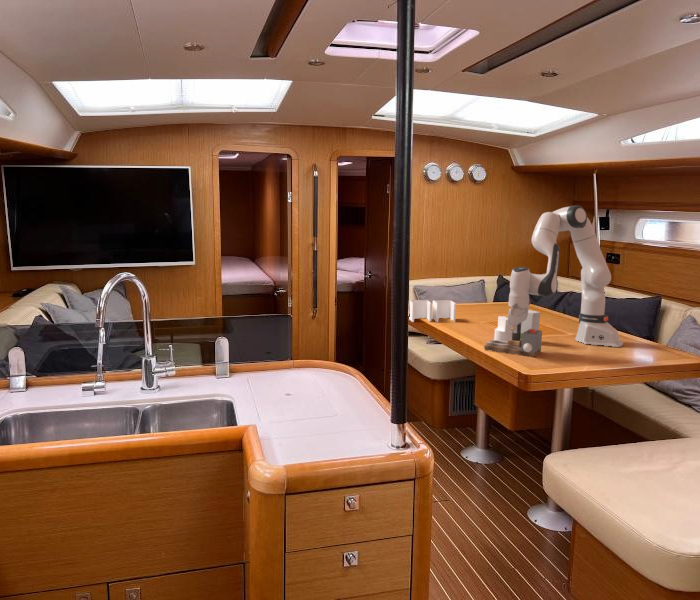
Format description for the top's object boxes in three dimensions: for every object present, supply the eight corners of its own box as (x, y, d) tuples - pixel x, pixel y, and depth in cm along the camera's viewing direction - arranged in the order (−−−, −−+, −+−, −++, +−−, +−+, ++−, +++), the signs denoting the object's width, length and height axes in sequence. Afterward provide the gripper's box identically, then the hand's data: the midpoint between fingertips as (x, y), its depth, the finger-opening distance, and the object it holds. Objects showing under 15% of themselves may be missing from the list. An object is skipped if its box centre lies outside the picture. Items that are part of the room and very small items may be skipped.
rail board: (540, 351, 289) (541, 345, 289) (533, 357, 279) (534, 350, 279) (492, 345, 301) (492, 338, 300) (484, 349, 291) (484, 343, 290)
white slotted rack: (450, 318, 367) (451, 300, 366) (455, 322, 357) (456, 303, 355) (408, 318, 365) (409, 300, 363) (412, 322, 354) (412, 303, 352)
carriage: (523, 343, 291) (524, 324, 290) (518, 346, 284) (520, 327, 283) (512, 341, 294) (514, 323, 292) (507, 345, 287) (509, 325, 285)
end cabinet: (540, 351, 289) (542, 330, 288) (533, 357, 279) (535, 335, 277) (527, 350, 292) (529, 329, 291) (520, 355, 282) (521, 333, 280)
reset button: (535, 336, 285) (536, 329, 285) (534, 337, 283) (534, 330, 282) (529, 335, 286) (530, 328, 286) (528, 336, 284) (528, 329, 284)
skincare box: (516, 341, 311) (518, 310, 309) (524, 339, 316) (526, 309, 313) (530, 344, 305) (533, 312, 303) (538, 342, 309) (540, 311, 307)
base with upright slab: (515, 343, 306) (517, 319, 304) (498, 343, 304) (500, 319, 302) (507, 339, 315) (509, 316, 313) (491, 339, 313) (492, 316, 311)
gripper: (519, 306, 275) (517, 337, 278) (531, 300, 293) (529, 329, 295) (504, 304, 279) (503, 335, 281) (517, 299, 296) (516, 327, 298)
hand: (516, 332), depth 288 cm, fingers closed on carriage, 3 cm apart
